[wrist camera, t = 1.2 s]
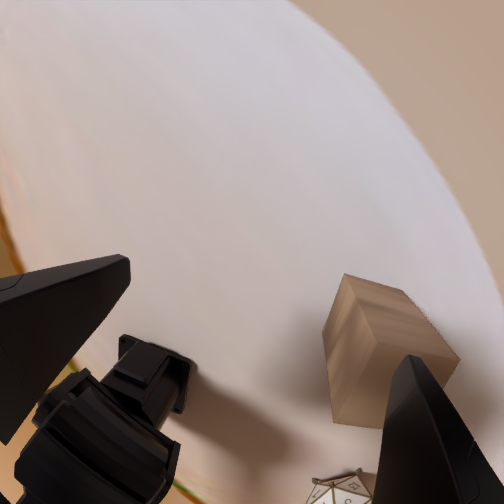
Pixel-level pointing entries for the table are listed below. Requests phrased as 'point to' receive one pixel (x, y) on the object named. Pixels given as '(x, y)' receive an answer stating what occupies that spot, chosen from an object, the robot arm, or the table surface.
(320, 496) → the game die
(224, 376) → the table surface
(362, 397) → the brown rectangular block
